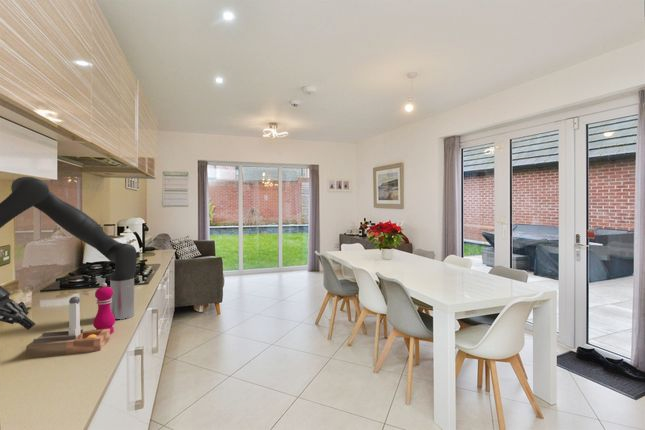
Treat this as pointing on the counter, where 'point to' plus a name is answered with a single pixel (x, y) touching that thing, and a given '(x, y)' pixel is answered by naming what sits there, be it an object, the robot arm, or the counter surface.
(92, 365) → the counter surface
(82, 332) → the launcher track
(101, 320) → the pepper mill
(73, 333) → the launcher plunger
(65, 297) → the counter surface
